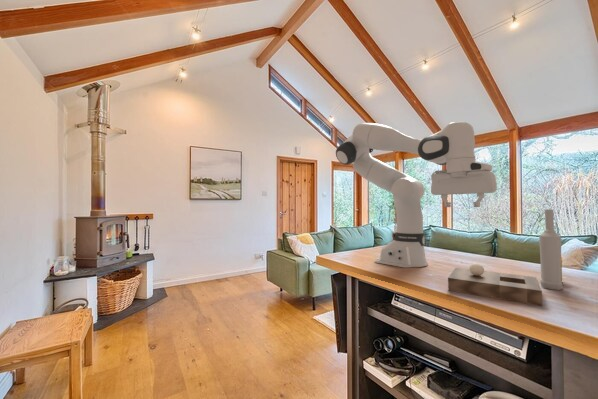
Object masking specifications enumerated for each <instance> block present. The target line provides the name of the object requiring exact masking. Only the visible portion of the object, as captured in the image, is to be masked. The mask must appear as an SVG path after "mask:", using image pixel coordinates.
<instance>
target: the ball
mask: <svg viewBox="0 0 598 399" xmlns="http://www.w3.org/2000/svg"><path fill="white" fill-rule="evenodd" d="M484 268H485V267H484V266H483V265H482V264H481V263H478V262H474V263H471V264H470V265H469V268H468V269H469V270H470V272H471V273H472V274H473V275H475V276H480V275H482V274H483V273H484V271H485V269H484Z"/></svg>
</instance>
